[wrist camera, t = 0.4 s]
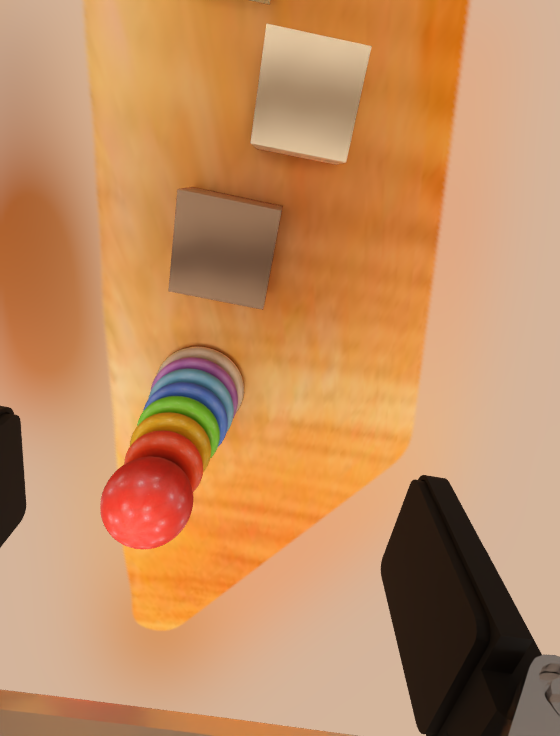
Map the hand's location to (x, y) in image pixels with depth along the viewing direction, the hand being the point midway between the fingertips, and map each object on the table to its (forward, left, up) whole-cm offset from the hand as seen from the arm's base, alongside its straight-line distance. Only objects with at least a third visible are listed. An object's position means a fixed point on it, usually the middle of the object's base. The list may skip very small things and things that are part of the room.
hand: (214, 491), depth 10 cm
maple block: (-12, +1, -27) cm, 30 cm away
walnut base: (-2, -3, -28) cm, 28 cm away
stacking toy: (+11, -4, -28) cm, 30 cm away
